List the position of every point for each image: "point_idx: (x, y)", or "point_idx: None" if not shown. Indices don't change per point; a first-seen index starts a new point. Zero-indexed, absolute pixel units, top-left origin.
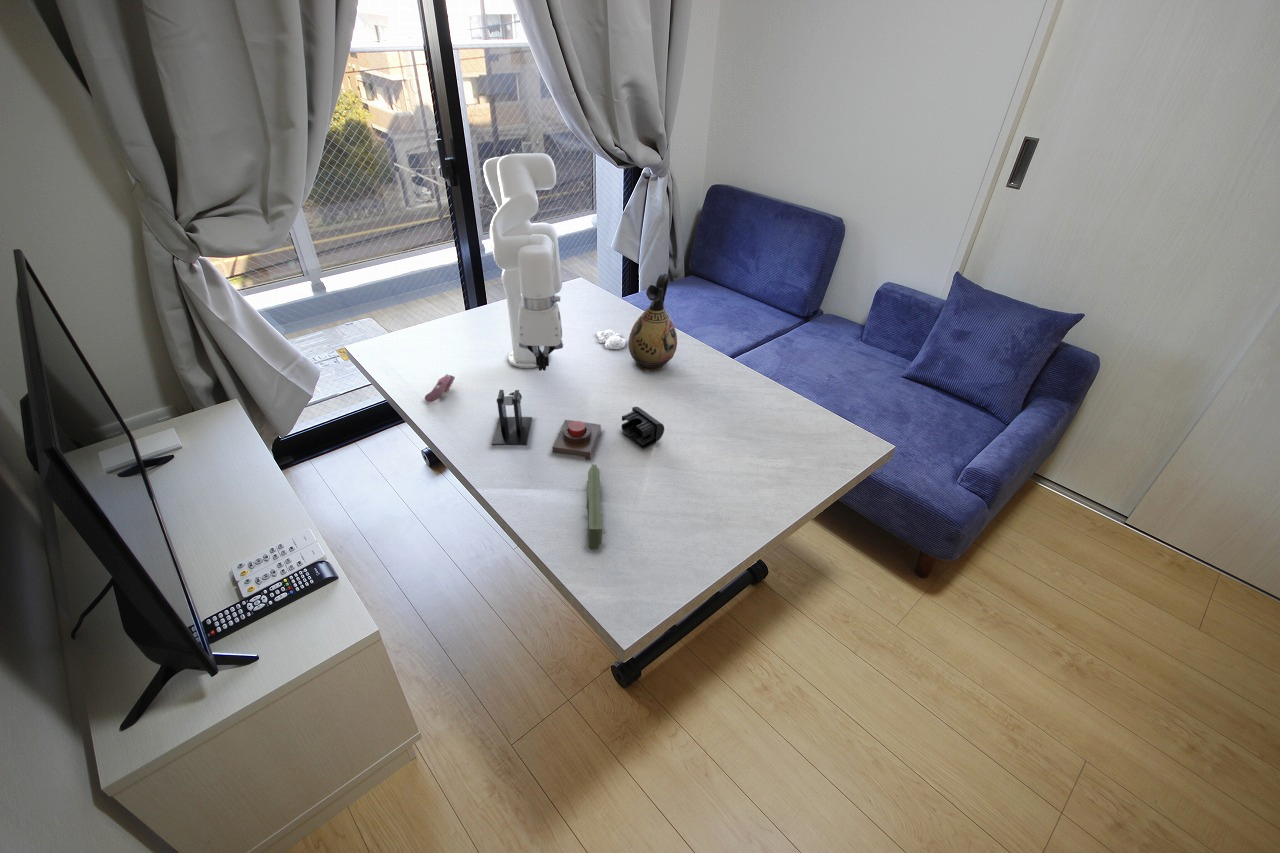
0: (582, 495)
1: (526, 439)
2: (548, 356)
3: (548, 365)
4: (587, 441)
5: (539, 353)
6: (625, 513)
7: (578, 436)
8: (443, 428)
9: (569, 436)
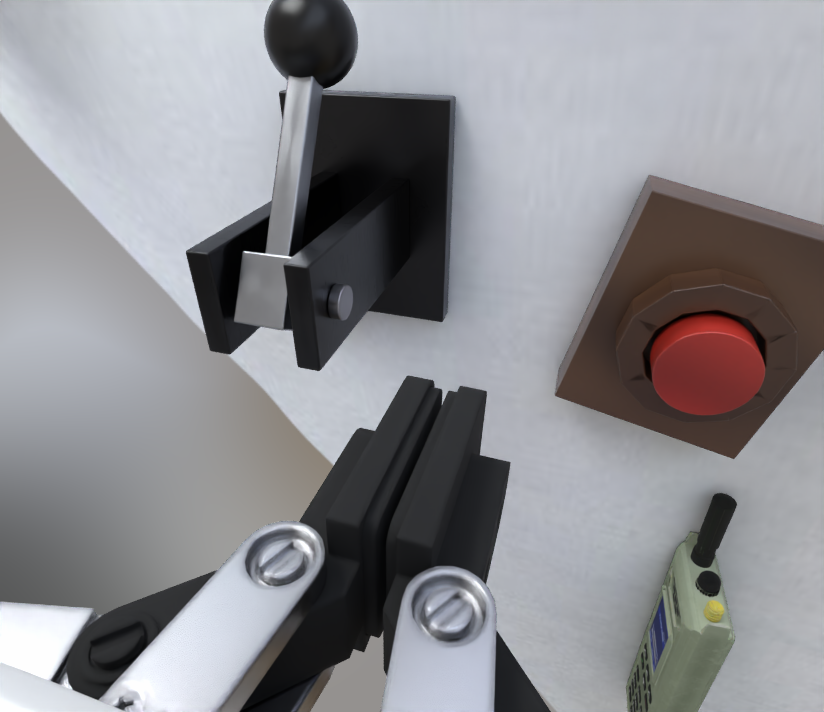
0: (646, 559)
1: (439, 291)
2: (490, 547)
3: (503, 503)
4: None
5: (336, 657)
6: (776, 645)
7: None
8: (94, 149)
9: (646, 400)
